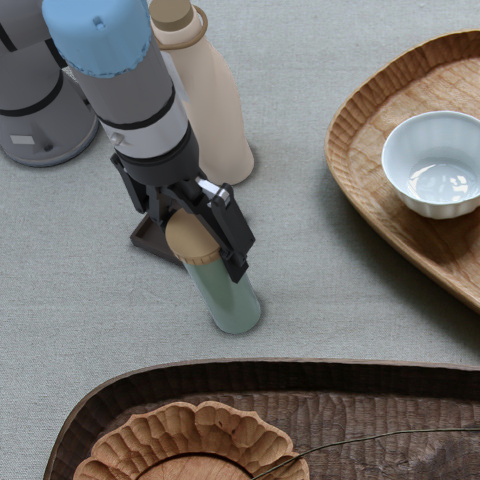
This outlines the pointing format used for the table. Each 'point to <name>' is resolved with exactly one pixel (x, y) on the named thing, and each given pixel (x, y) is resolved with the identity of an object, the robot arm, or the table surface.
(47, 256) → the table surface
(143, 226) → the lid tray
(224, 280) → the thermos flask
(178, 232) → the lid
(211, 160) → the water bottle
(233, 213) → the robot arm
